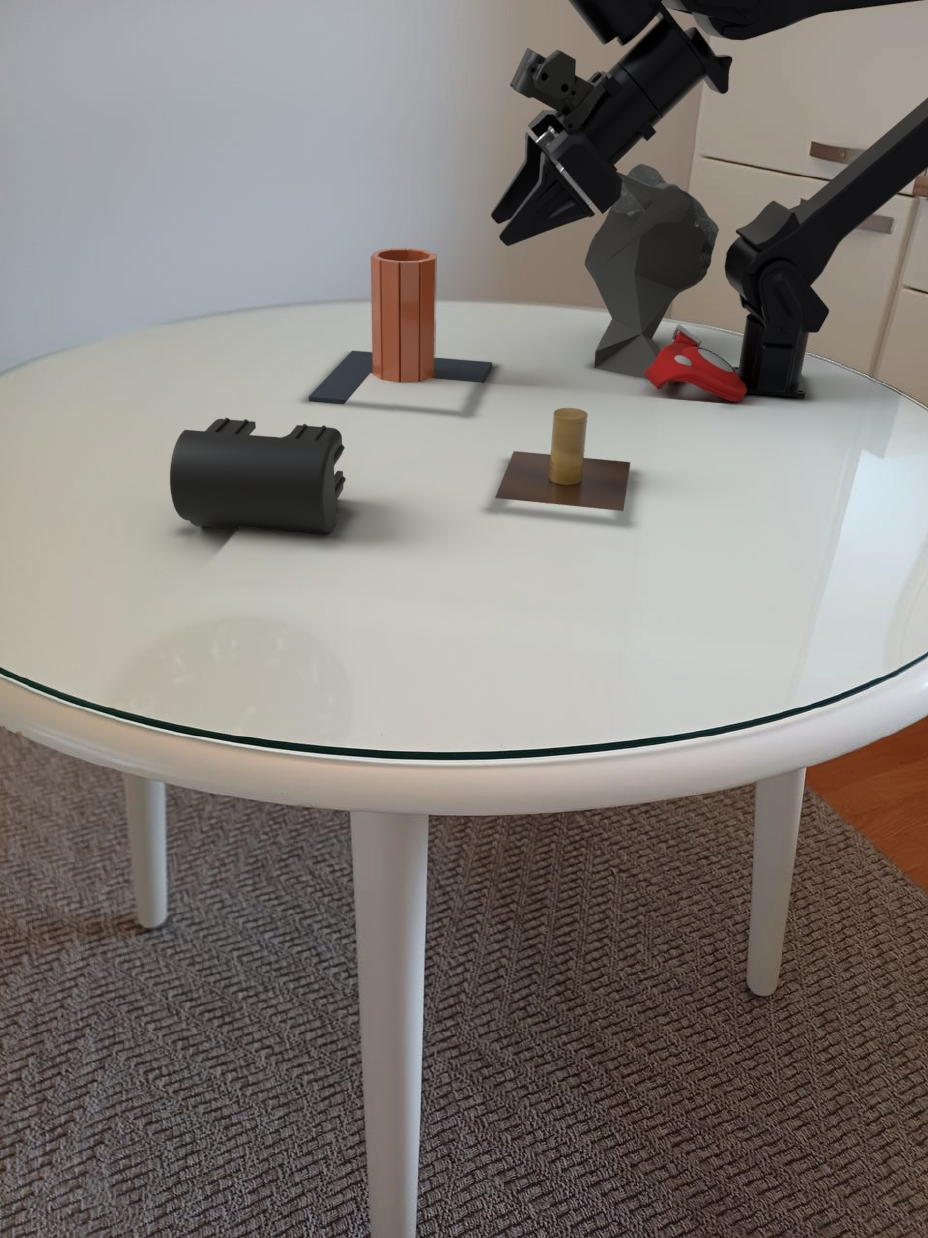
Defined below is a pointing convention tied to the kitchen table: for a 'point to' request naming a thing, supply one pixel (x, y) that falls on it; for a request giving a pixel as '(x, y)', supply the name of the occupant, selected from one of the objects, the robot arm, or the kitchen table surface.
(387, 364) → the orange tube
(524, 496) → the ring holder
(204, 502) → the end cap
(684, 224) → the grey angular chunk
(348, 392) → the flat corner bracket
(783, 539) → the kitchen table surface
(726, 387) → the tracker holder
